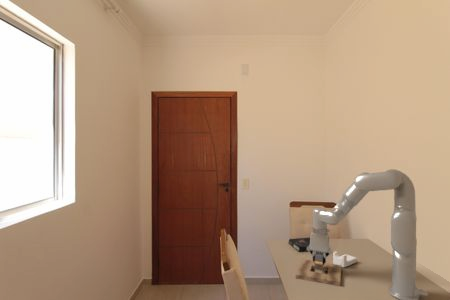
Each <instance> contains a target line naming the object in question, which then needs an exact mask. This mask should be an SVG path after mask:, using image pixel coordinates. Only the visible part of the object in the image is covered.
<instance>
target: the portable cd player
mask: <svg viewBox="0 0 450 300" xmlns="http://www.w3.org/2000/svg"><path fill="white" fill-rule="evenodd" d="M288 244H289V245H290V246H291V247H292V248H293V249H294V250H296V251H297V252H298V253H310V252H309V251H308V250H307V249H306V248H307V247H308V246H309V244H310V237H300V238H299V237H298V238H297V237H296V238H289V239H288Z"/></svg>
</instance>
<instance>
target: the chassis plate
mask: <svg viewBox="0 0 450 300" xmlns="http://www.w3.org/2000/svg"><path fill="white" fill-rule="evenodd" d="M312 270H317V271H322V272H326V273H322V272H317V271H312ZM341 275H342V267H341V265H336V264H333V263H329V262H326V263H324V265H323V267H318V266H315V264H314V261H313V260H309V259H304V258H302V259H301V261H300V264H299V266H298V269H297V271H296V273H295V279H300V280H305V281H310V282H315V283H321V284H326V285H332V286H337V287H341V278H342V277H341Z"/></svg>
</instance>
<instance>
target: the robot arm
mask: <svg viewBox="0 0 450 300" xmlns="http://www.w3.org/2000/svg"><path fill="white" fill-rule="evenodd" d="M390 190H393V192H394V194H393V195H394V196H393V198H394V199H393V200H394V202H393V203H394V205H393V206H394V207H393V212H392V215H391V218H390V244H391V247H392V248H391V249H392V259H391V260H392V265H391V266H392V269H391V271H392V272H391V275H392V276H391V280H392V281H391V286H389V287H388V290H387V291H388V294H389V295H391V296H392V297H394V298H395V299H397V300H420V296H423V297H429V296H428V295H429V293H428V291H426V290H425V291H424V289H423V288H418V287H417V284H416V283H417V281H416V280H417V243H418V242H417V215H416V214H417V213H416V190H415V186H414V182H412V180H411V178H410V177H409V176H408V175H407V174H406V173H404V172H402V171H401V170H397V169H391V168H390V169H387V170H385V171H381V172H371V173H370V172H362V173H359V174H358V175H357V176H355V178H354V180H353V182H352V183H351V184H350V185H349V186H348V187H347V189H346V190H345V191H344V192H343V194H342V197H341V198H340V200H339V201H338V202H337V203H336V205H334V206H333V208H332V209H330V210H327V209H326V208H324V207H315V208H313V209H312V230H311V232H310V237H309V238H310V244H309V246H308V247H307V248H306V249H307V250H308V251H309V252H308V253H309V254H311V256H312V261H314V262H315V253H316V251H317V252H323V265H324V263H327V261H326V260H327V259H326V258H327V257H329V256H330V255H332V254H333V252H334V251H333V250H332V248H331V246H330V235H329V233H330V232H331V231H330V229H328V226H329V225H330V226H337V225H338V224H339V223H340V222H342V221H343V220H344V219H345V218H346V216H347V215H349V213H350V212H351V210H352V209H354V208H355V207H356V206H357V205H358V204H359V203H361V201H363V199H364V198H365V196H366V195H368V194H369V192H377V191H378V192H379V191H390Z"/></svg>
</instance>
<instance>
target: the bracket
mask: <svg viewBox="0 0 450 300" xmlns="http://www.w3.org/2000/svg"><path fill="white" fill-rule="evenodd" d="M332 254H333V255H332V258H333V259H332V264H336V265H341V268H346V267H349V266H351V265H353V264H356V263H357V261H358V260H357V257H355V256H353V255H350V254H347V253H346V254H343V255H339V254H338V251H333V253H332Z"/></svg>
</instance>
